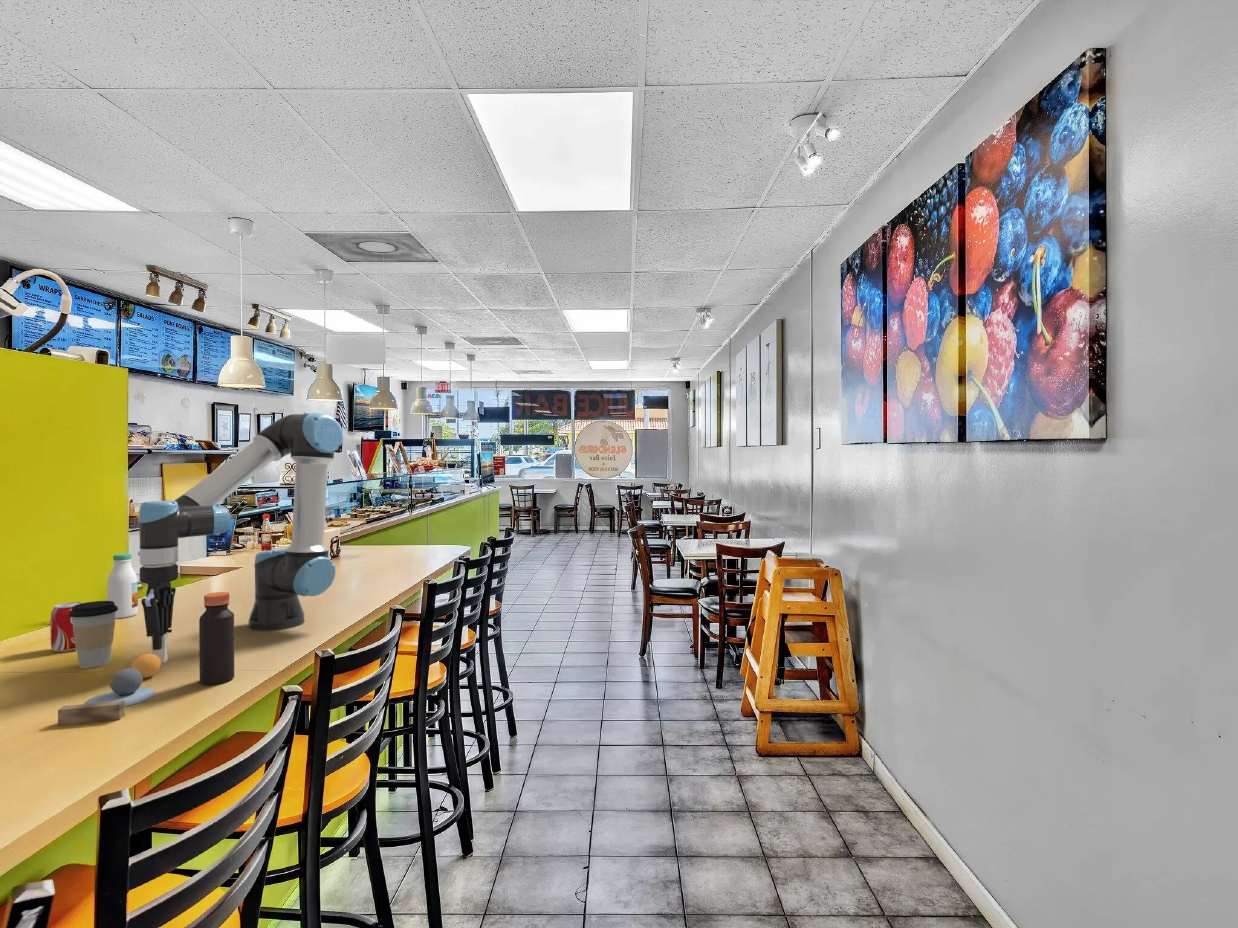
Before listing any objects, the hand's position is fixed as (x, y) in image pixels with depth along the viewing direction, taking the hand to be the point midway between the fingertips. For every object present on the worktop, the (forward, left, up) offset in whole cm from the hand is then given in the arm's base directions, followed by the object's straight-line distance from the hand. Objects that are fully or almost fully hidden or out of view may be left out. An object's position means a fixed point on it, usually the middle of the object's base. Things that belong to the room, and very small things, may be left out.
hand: (159, 661), depth 150 cm
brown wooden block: (0, +30, -2) cm, 30 cm away
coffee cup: (+17, -8, -2) cm, 19 cm away
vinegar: (-16, +12, -2) cm, 20 cm away
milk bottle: (+33, -60, -2) cm, 69 cm away
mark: (0, +19, -2) cm, 19 cm away
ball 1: (0, +16, +1) cm, 16 cm away
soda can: (+30, -24, -2) cm, 38 cm away
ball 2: (+1, +6, +1) cm, 6 cm away
